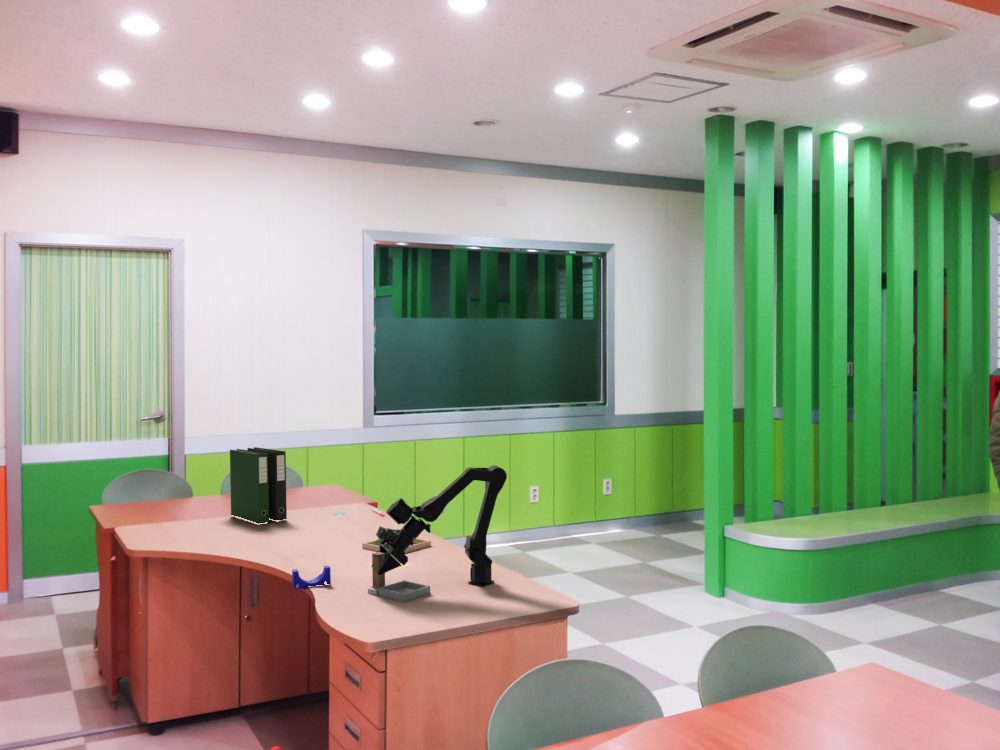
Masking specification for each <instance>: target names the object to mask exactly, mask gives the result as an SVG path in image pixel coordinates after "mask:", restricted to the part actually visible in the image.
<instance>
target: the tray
mask: <svg viewBox="0 0 1000 750" xmlns="http://www.w3.org/2000/svg"><path fill="white" fill-rule="evenodd" d="M427 594H428V595H431V586H430V585H427V584H423V583H418V582H414V581H410V580H409V581H408V580H405V579H404V580H401V581H397V582H394V583H391V584H387V585H386V586H384V587H380V588H378V595H377V596H378V597H381V598H384V597H385V599H389V600H393V601H397V602H400V603H401V602H402V603H407V602H410V600H411V601H412V600H413V599H414V600H416V599H419V598H422V597H426V596H428V595H427ZM421 596H422V597H421Z"/></svg>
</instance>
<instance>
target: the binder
mask: <svg viewBox="0 0 1000 750" xmlns="http://www.w3.org/2000/svg"><path fill="white" fill-rule="evenodd" d="M286 455H287V454H286V451H283V450H277V449H270V448H262V447H256V446H254V447H252V448H251V447H247V448H246V449H242V448H241V449H240V448H236V449H231V448H230V449H229V471H230V472H229V474H230V475H229V477H230V516H231V515H234V516H238V517H241V518H244V519H247V520H250V521H253V522H256V523H258V524H259V523H265V522H269V523H270V521H269V518H270V519H273V520H283V519H288V518H287V515H288V514H287V471H286V470H287V465H286V464H287V463H286V462H287V461H286V459H287V458H286Z"/></svg>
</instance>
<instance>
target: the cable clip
mask: <svg viewBox="0 0 1000 750" xmlns="http://www.w3.org/2000/svg"><path fill="white" fill-rule="evenodd" d="M291 571H292V572H291V573H292V575H291V576H292V578H291V579H292V581H291V582H292V585H291V586H292V588H293V590H300V589H308V588H307V587H308V586H316V585H325V584H324V582H325V581H326V582H327V584H332V583H331V582H332V581H331V580H332V579H331V577H332V576H331V575H332V574H331V566H329V565H323V571H322V573H319V574H318V575H317V576H316V577H315V578H311V579H309V580H305V579H303V578H301V576H300V574H299V569H297V568H295V569H294V568H293V569H292V570H291Z"/></svg>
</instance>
